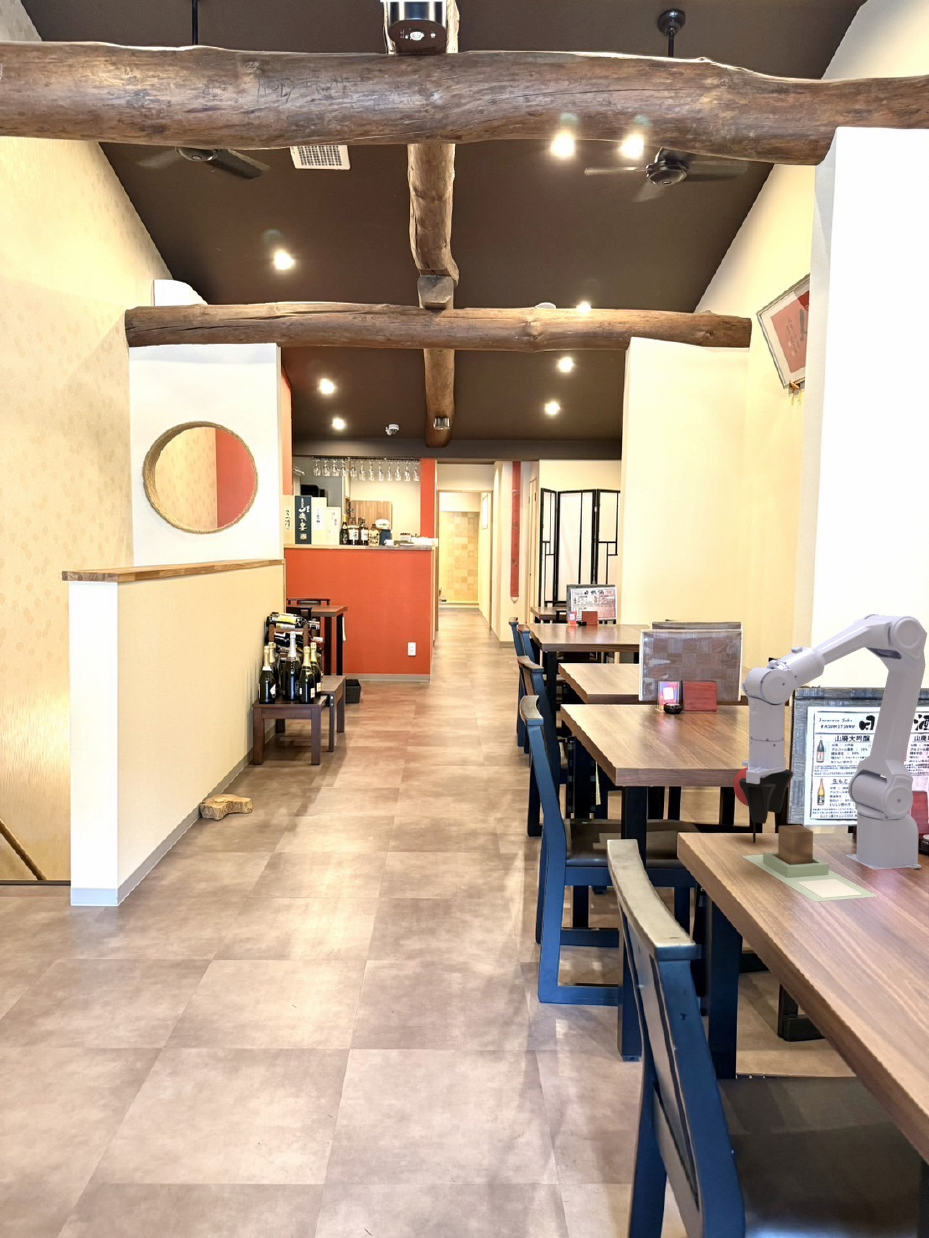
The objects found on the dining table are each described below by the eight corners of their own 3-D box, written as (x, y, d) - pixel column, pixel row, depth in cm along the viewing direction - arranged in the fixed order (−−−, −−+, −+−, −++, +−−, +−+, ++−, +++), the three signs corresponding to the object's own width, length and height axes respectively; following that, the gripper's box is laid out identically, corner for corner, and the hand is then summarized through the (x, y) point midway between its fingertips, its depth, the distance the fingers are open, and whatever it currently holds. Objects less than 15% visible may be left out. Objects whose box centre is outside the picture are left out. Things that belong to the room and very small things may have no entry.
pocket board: (797, 855, 154) (797, 842, 154) (878, 900, 132) (878, 885, 132) (741, 859, 152) (741, 846, 152) (814, 905, 130) (815, 890, 130)
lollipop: (781, 851, 156) (782, 771, 155) (740, 851, 156) (741, 771, 155) (767, 838, 163) (768, 762, 163) (728, 838, 164) (728, 762, 163)
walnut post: (798, 864, 147) (799, 824, 147) (812, 871, 143) (813, 831, 143) (778, 865, 146) (778, 826, 146) (791, 873, 142) (791, 832, 142)
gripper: (757, 729, 151) (757, 804, 152) (728, 742, 140) (727, 823, 141) (798, 733, 147) (797, 810, 148) (771, 747, 136) (770, 830, 136)
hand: (766, 817), depth 144 cm, fingers open, 7 cm apart
